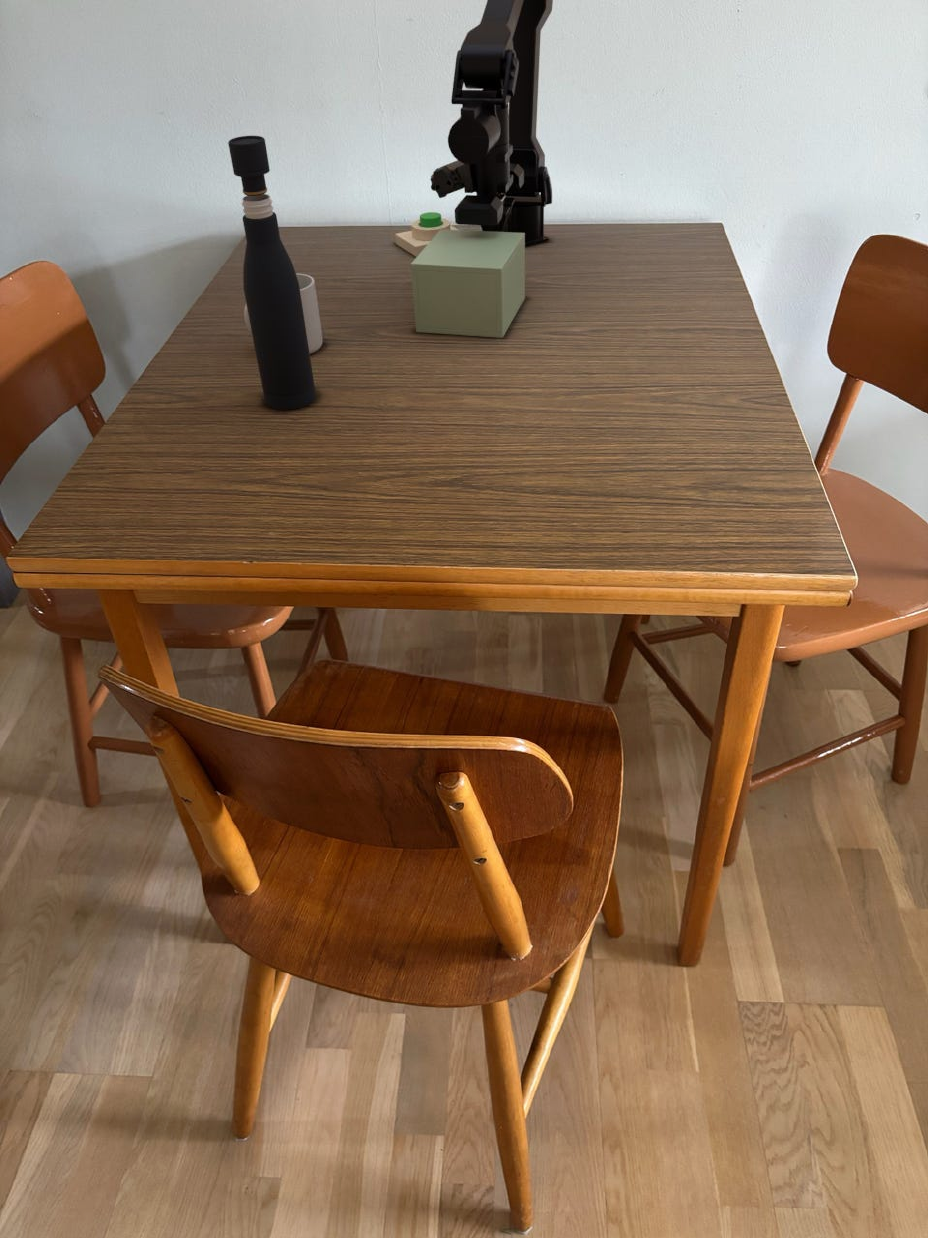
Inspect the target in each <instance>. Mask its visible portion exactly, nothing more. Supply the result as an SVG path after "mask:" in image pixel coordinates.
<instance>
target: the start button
mask: <svg viewBox="0 0 928 1238" xmlns="http://www.w3.org/2000/svg"><path fill="white" fill-rule="evenodd" d="M441 218H442V214H441V213H439V212H435V211H429V212H424V213H421V214H420V215H419V219H420V226H421V227H425V228H433V227H438V226H441V225H442V223H441Z"/></svg>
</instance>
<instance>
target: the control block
mask: <svg viewBox="0 0 928 1238" xmlns="http://www.w3.org/2000/svg"><path fill="white" fill-rule="evenodd" d="M441 223H442V225H441V226H438V227H433V228H425V227H421V226H420V218H419V219H417V220H414V221H413V222H411V226H410V227H411V230H408V231H403V232H398V233H395V234H394V237H395V244H396V246H399V247H400V248H402V249H403V250H405V251H406V252H408V253H409V254H410V255H412V256H414V257H415V258H416V257H417V256H418V255H419V254H420V253H421V252H422V251H423V249H424V248H425V247H426V246H427V245H428V244H429V242H430V241H431V240H432V239H433V238H434V237H435V235H436V234H437V233H438V232H439V231H440V230H441V229H443V230H459V229H458V228H456V227H455V226H453V225H451V221H450V220H448V219H447V218H443V217H441Z"/></svg>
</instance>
